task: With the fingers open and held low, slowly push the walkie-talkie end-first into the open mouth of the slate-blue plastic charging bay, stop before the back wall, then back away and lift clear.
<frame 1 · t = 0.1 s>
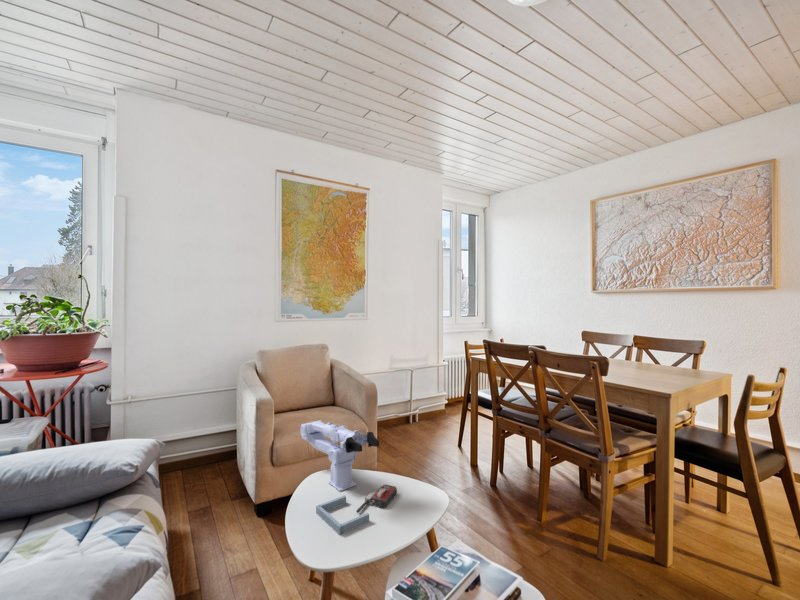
hand: (369, 446, 142), 22 cm above the table, tool horizontal, fingers open, 7 cm apart
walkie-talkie: (377, 504, 143), on the table
charging bay: (344, 516, 134), on the table
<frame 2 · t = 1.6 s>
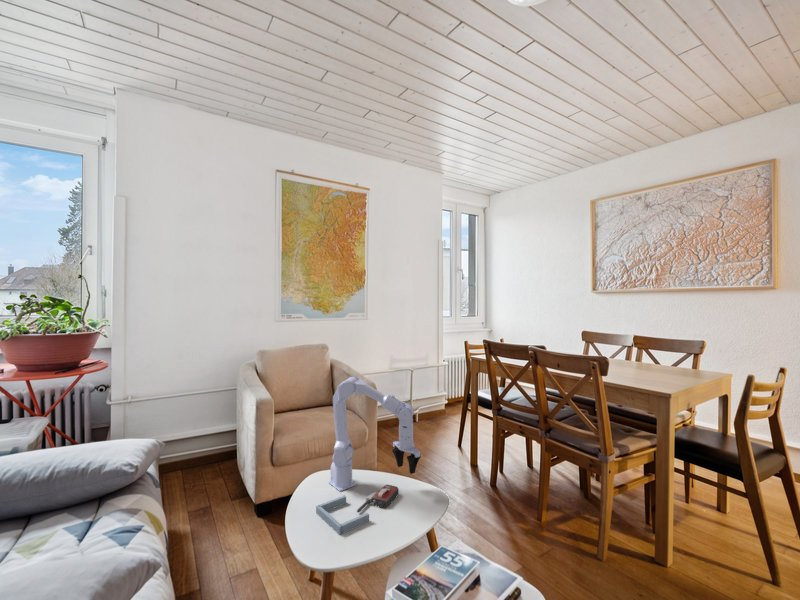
hand: (406, 469, 152), 8 cm above the table, tool pointing down, fingers open, 7 cm apart
nothing on the table moved.
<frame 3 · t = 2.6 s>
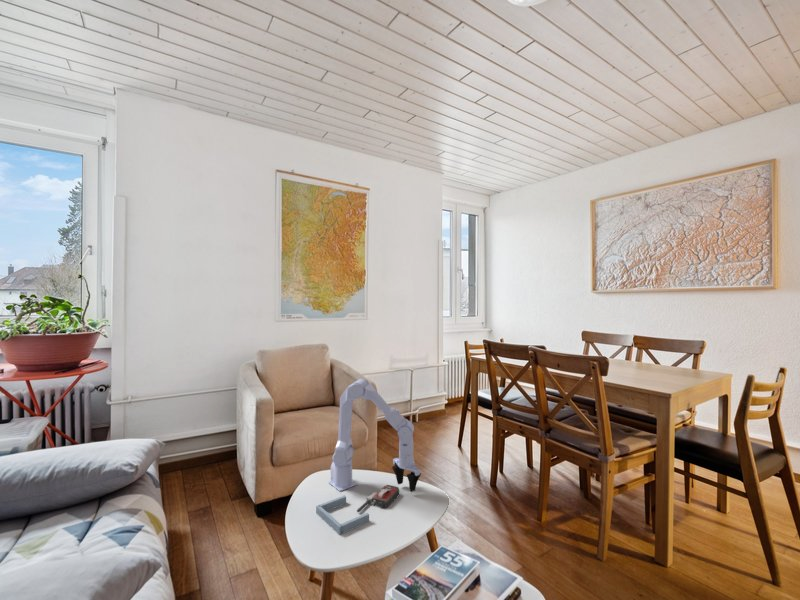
hand: (406, 487, 152), 1 cm above the table, tool pointing down, fingers open, 7 cm apart
nothing on the table moved.
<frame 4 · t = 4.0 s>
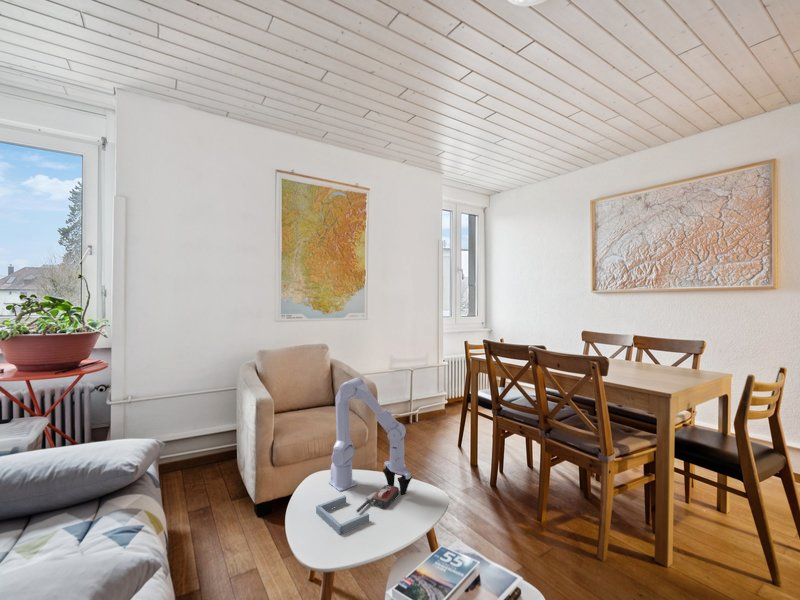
hand: (397, 490, 149), 1 cm above the table, tool pointing down, fingers open, 7 cm apart
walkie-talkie: (379, 504, 142), on the table, touching gripper
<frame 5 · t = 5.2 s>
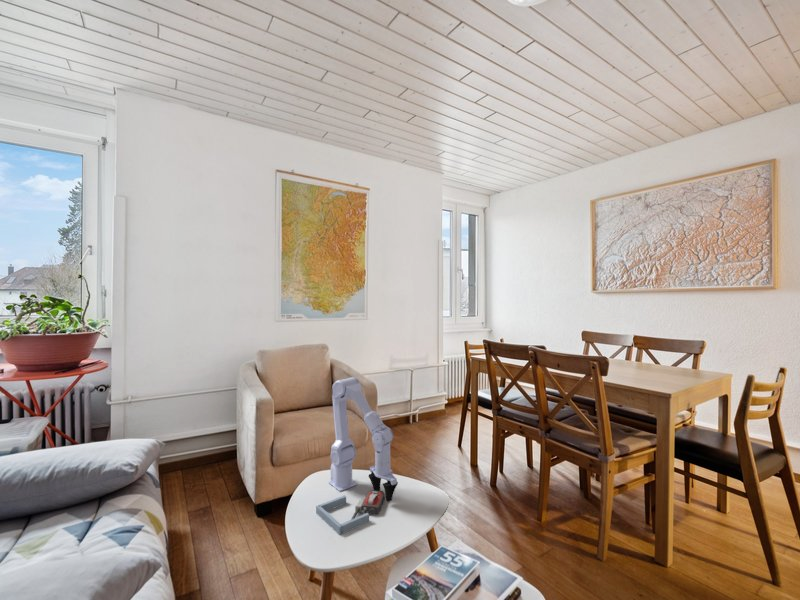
hand: (382, 496, 144), 1 cm above the table, tool pointing down, fingers open, 7 cm apart
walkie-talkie: (368, 511, 138), on the table, touching gripper
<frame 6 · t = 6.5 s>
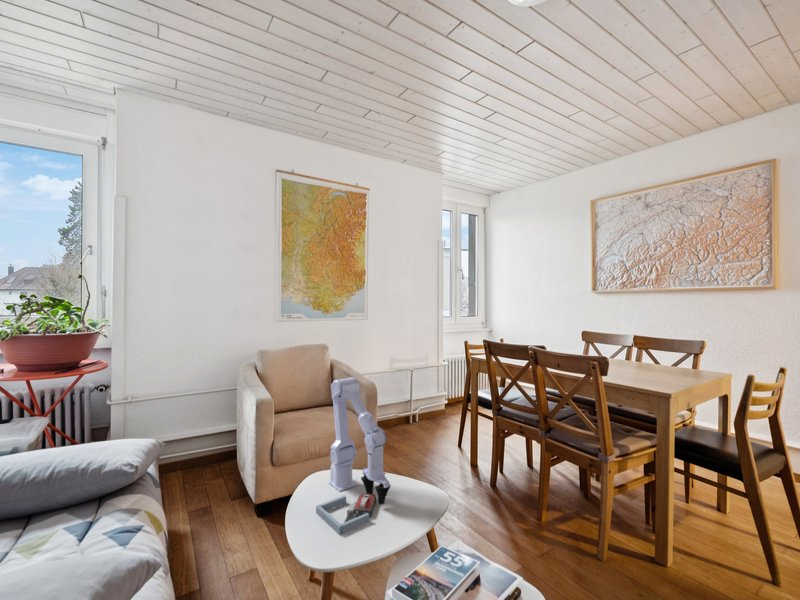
hand: (375, 499, 142), 1 cm above the table, tool pointing down, fingers open, 7 cm apart
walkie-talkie: (360, 514, 136), on the table
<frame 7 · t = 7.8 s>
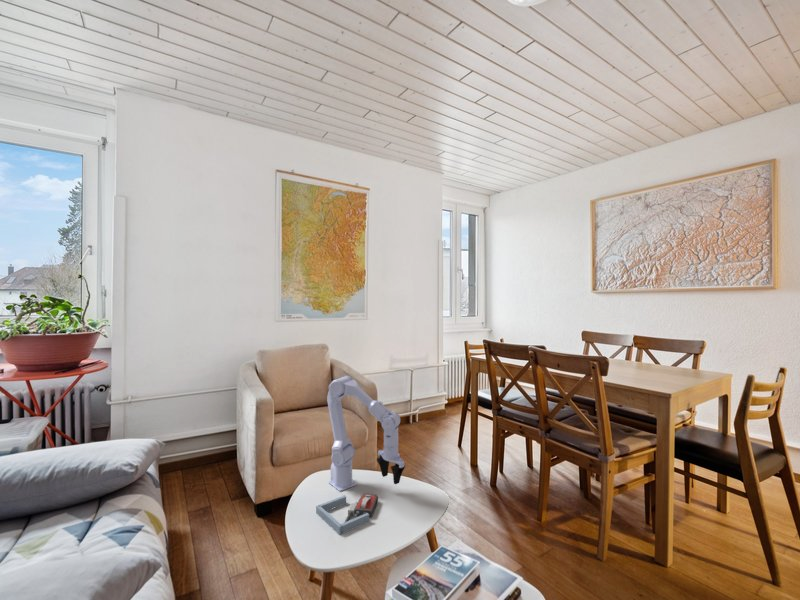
hand: (390, 479, 149), 6 cm above the table, tool pointing down, fingers open, 7 cm apart
nothing on the table moved.
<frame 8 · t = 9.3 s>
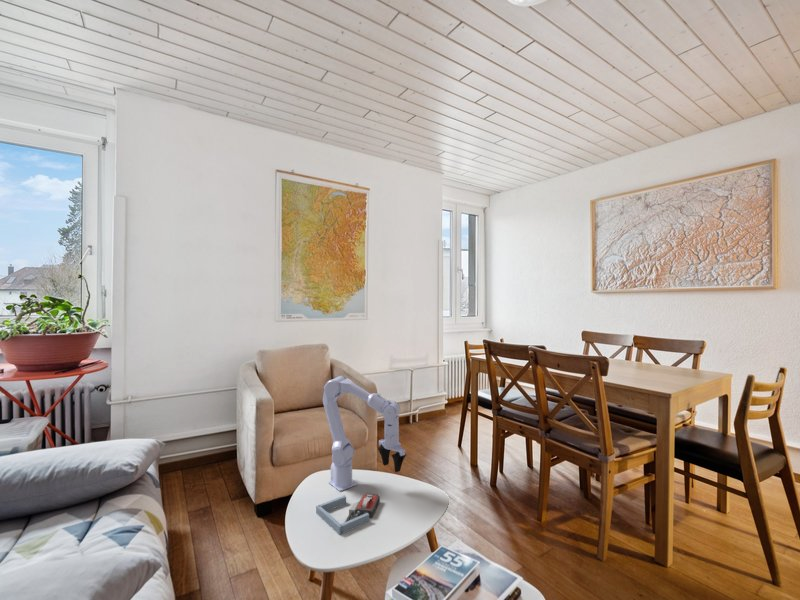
hand: (391, 468, 151), 9 cm above the table, tool pointing down, fingers open, 7 cm apart
nothing on the table moved.
at the end: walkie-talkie inside the target area on the charging bay (2.4 cm from its centre), point -0.7 cm above the charging bay's base; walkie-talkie tilted 0°; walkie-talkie moved 8.7 cm from its start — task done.
